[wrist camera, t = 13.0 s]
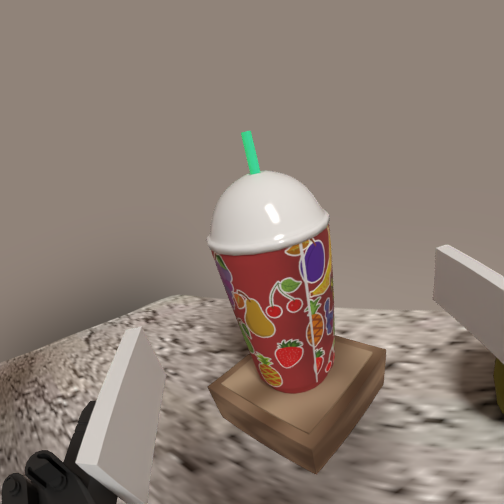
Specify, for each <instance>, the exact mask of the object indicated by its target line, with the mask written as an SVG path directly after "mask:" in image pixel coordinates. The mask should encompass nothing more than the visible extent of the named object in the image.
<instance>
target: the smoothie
mask: <svg viewBox="0 0 504 504" xmlns="http://www.w3.org/2000/svg"><path fill="white" fill-rule="evenodd" d="M241 135H242V140H243V144H244V148H245V152H246V157H247V161H248V165H249V169H250V173H249V174H247V175H244V176H243V177H241V178H239V179H238V180H236V181H235V182H234V183H233V184H232V185H230V186H229V187H228V188H227V189H226V190H225V192H224V193H223V194H222V196H221V197H220V199H219V201H218V202H217V204H216V206H215V209H214V212H213V215H212V221H211V231H210V234H209V235H208V237H207V239H206V240H207V243H208V246H209V248H210V250H211V252H212V255H213V258H214V260H215V263H216V266H217V268H218V271H219V274H220V276H221V279H222V282H223V285H224V287H225V290H226V293H227V295H228V298H229V300H230V303H231V306H232V308H233V311H234V313H235V316H236V319H237V321H238V324H239V326H240V329H241V331H242V334H243V336H244V339H245V342H246V344H247V347H248V349H249V352H250V354H251V356H252V359H253V361H254V364H255V366H256V369H257V371H258V373H259V376H260V378H261V379H262V380H264V381H265V382H266V383H267V384H268V385H270V386H272V387H273V388H274V389H275V390H278V391H280V392H283V393H291V394H296V393H302V392H306V391H309V390H311V389H313V388H315V387H317V386H318V385H319V384H321V383H322V382H323V381H324V379H325V378H326V376H327V375H328V372H329V371H330V370H331V368H332V367H333V364H334V358H335V328H334V294H333V272H332V255H331V241H330V229H329V221H330V216H329V214H328V213H327V211H326V210H325V209H322V208H321V207H320V205H319V203H318V201H317V200H316V199H315V197H314V196H313V194H312V193H311V191H310V190H309V189H308V188H307V187H306V186H305V185H304V184H302V183H301V182H300V181H298V180H297V179H295V178H293V177H291V176H289V175H286V174H283V173H279V172H274V171H260V168H259V164H258V160H257V155H256V151H255V147H254V143H253V139H252V134H251V131H247V132H242V133H241Z"/></svg>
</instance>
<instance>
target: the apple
mask: <svg viewBox="0 0 504 504" xmlns="http://www.w3.org/2000/svg"><path fill="white" fill-rule="evenodd" d="M493 376H494V383H495V389H496V397H497V404H498V406H499V407H500V409H501V411H502V413H503V414H504V364H503V363H502V362H501V361H500V360H499V359H498V358H497V357H496V360H495V367H494V375H493Z"/></svg>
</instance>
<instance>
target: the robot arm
mask: <svg viewBox="0 0 504 504" xmlns="http://www.w3.org/2000/svg"><path fill="white" fill-rule="evenodd" d="M435 254H436V255H435V277H434V291H433V300H434V301H435V302H436V303H437V304H439V305H440V306H441V307H442V308H443V309H444V310H446V311H447V312H448V313H449V314H450V315H451V316H452V317H454V318H455V319H456V320H457V321H458V322H459V323H460V324H461V325H463V326H464V327H465V328H466V329H467V330H468V331H469V332H470V333H471V334H472V335H474V336H475V337H476V338H477V339H478V340H479V341H480V342H481V343H482V344H483V345H484V346H485V347H486V348H487V349H489V350H490V351H491V352H492V353H493V354H494V355H495V356H496V357H497V358H498V359H499V360H500V361H501V362H502V363H503V364H504V277H503V276H501V275H500V274H498V273H497V272H495V271H493V270H491V269H490V268H488V267H487V266H485V265H483V264H482V263H480V262H478V261H476V260H475V259H473V258H471V257H469V256H468V255H466V254H464V253H462V252H461V251H459V250H457V249H455V248H453V247H452V246H450V245H448V244H446V245H443V246H440V247H438V248H436V253H435ZM166 375H167V374H166V373H165V371H164V369H163V367H162V365H161V363H160V362H159V360H158V358H157V356H156V354H155V352H154V350H153V348H152V346H151V344H150V342H149V340H148V338H147V336H146V334H145V332H144V330H143V328H142V327H137V328H132V329H127V330H126V331H125V333H124V335H123V338H122V340H121V342H120V345H119V347H118V349H117V352H116V354H115V356H114V359H113V361H112V363H111V366H110V368H109V371H108V373H107V376H106V378H105V381H104V383H103V386H102V388H101V391H100V393H99V396H98V398H97V401H90V402H89V403H88V405H87V406H86V407H85V408H84V410H83V411H82V413H81V415H80V418H79V421H78V424H77V426H76V428H75V433H74V434H73V437H72V439H71V442H70V445H69V448H68V451H67V453H66V456H65V459H64V462H62V461H61V460H60V459H59V458H57V457H56V456H55V455H54V454H53V453H52V452H50V451H48V450H41V451H38V452H36V453H35V454H33V455H32V456H31V457H30V458H29V460H28V461H27V463H26V467H25V475H26V476H27V477H28V478H29V479H30V480H32V481H29V480H28V479H26V478H25V477H24V476H23V475H21V474H19V473H13V474H11V475H9V476H8V477H7V478H6V479H5V481H4V483H3V486H2V504H116V502H117V497H119V498H120V499H121V500H123V501H124V502H126V503H128V504H148V495H149V486H150V477H151V469H152V462H153V454H154V447H155V440H156V433H157V427H158V421H159V414H160V408H161V403H162V397H163V391H164V385H165V380H166Z"/></svg>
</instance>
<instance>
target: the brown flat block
mask: <svg viewBox="0 0 504 504" xmlns="http://www.w3.org/2000/svg"><path fill="white" fill-rule="evenodd" d="M385 360H386V349H382V348H378V347H375V346H371V345H367V344H364V343H360V342H356V341H353V340H349V339H346V338H342V337H339V336H336V335H335V358H334V364H333V367H332V368H331V370H330V371H329V372H328V375H327V376H326V378H325V379H324V381H323V382H322V383H321V384H319V385H318V386H317V387H315V388H313V389H311V390H309V391H306V392H302V393H296V394H291V393H283V392H280V391H278V390H275V389H274V388H273V387H272V386H270V385H268V384H267V383H266V382H265V381H264V380H262V379H261V378H260V376H259V373H258V371H257V369H256V366H255V364H254V361H253V359H252V356H251V354H248V355H247V356H246V357H245V358H243V359H242V360H241V361H240V362H239V363H237V364H236V365H235V366H234V367H232V368H231V369H230V370H229V371H227V372H226V373H225V374H223V375H222V376H221V377H220V378H218V379H217V380H216V381H215V382H213V383H212V384H211V385H209V386H208V389H209V391H210V393H211V395H212V397H213V399H214V401H215V403H216V405H217V407H218V409H219V411H220V413H221V415H222V416H223V418H225V419H226V420H228V421H229V422H230V423H232V424H233V425H235V426H236V427H238V428H239V429H241V430H242V431H244V432H245V433H247V434H248V435H250V436H251V437H253V438H254V439H256V440H257V441H259V442H260V443H262V444H264V445H265V446H267V447H268V448H270V449H272V450H273V451H275V452H277V453H278V454H280V455H282V456H283V457H285V458H287V459H289V460H290V461H292V462H294V463H296V464H297V465H299V466H301V467H303V468H305V469H307V470H308V471H310V472H312V473H314V474H317V473H318V472H319V471H320V470H321V469H322V467H323V466H324V465H325V464H326V463H327V462H328V460H329V459H330V458H331V457H332V456H333V454H334V453H335V452H336V451H337V449H338V448H339V447H340V446H341V444H342V443H343V442H344V440H345V439H346V438H347V436H348V435H349V434H350V432H351V431H352V430H353V428H354V427H355V426H356V424H357V423H358V421H359V420H360V419H361V417H362V416H363V414H364V413H365V411H366V410H367V408H368V407H369V406H370V404H371V403H372V401H373V399H374V398H375V396H376V395H377V393H378V392H379V390H380V389H381V387H382V385H383V383H384V373H385Z"/></svg>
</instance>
